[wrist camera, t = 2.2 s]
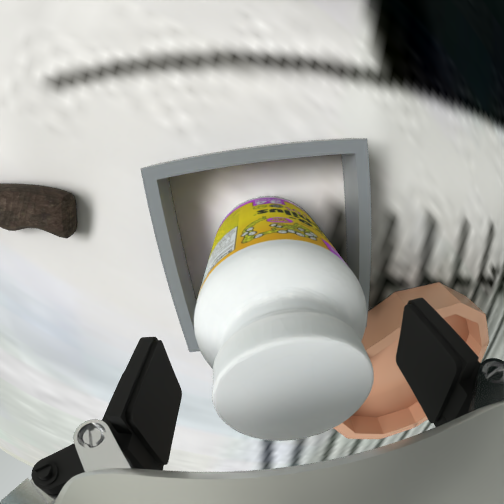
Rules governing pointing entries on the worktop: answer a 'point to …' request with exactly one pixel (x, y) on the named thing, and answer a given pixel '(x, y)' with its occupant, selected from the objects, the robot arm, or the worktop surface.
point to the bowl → (385, 367)
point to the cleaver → (37, 209)
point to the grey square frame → (158, 174)
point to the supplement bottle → (281, 325)
